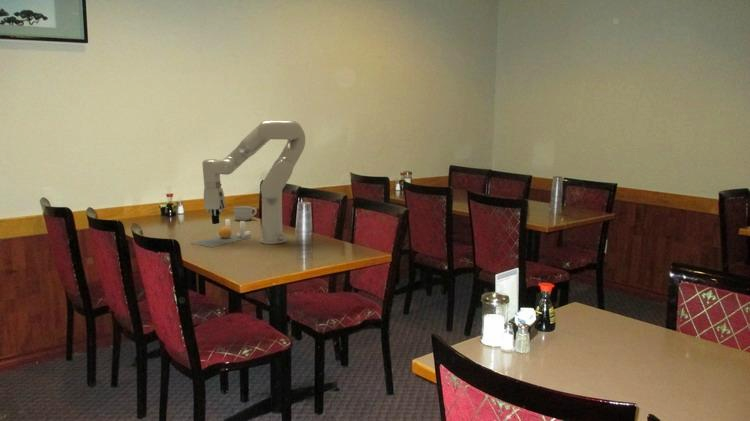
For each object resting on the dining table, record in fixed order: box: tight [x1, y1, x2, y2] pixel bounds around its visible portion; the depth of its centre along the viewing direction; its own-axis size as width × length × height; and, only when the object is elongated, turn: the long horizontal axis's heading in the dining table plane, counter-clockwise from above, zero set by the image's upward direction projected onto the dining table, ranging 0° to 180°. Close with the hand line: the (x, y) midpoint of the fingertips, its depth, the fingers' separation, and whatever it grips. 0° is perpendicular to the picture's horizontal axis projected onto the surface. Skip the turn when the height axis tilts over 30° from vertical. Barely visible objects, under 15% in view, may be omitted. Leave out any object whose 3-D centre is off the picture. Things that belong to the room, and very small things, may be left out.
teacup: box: [233, 205, 258, 222], centre depth 340 cm, size 14×11×8 cm
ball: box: [218, 226, 232, 239], centre depth 291 cm, size 6×6×6 cm
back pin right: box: [224, 218, 231, 229], centre depth 296 cm, size 2×2×8 cm
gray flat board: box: [190, 233, 252, 248], centre depth 287 cm, size 14×26×1 cm, turn 149°
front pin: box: [235, 230, 252, 238], centre depth 296 cm, size 2×2×8 cm
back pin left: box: [239, 221, 246, 238], centre depth 291 cm, size 2×2×8 cm
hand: (215, 223), depth 281 cm, fingers closed
